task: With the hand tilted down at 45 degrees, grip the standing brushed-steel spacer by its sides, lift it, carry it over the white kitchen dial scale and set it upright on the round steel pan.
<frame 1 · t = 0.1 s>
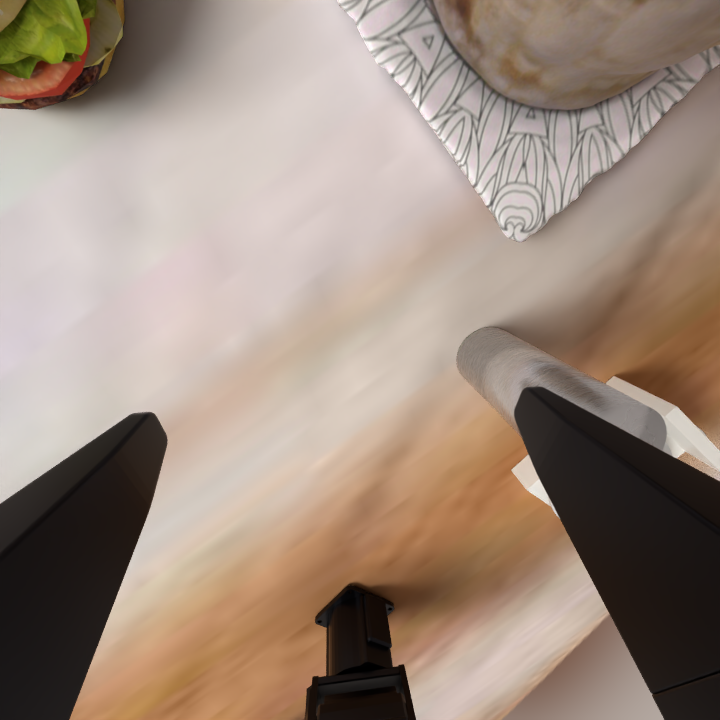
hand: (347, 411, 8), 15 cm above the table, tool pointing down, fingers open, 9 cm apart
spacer: (485, 356, 25), on the table
scale: (584, 452, 29), on the table
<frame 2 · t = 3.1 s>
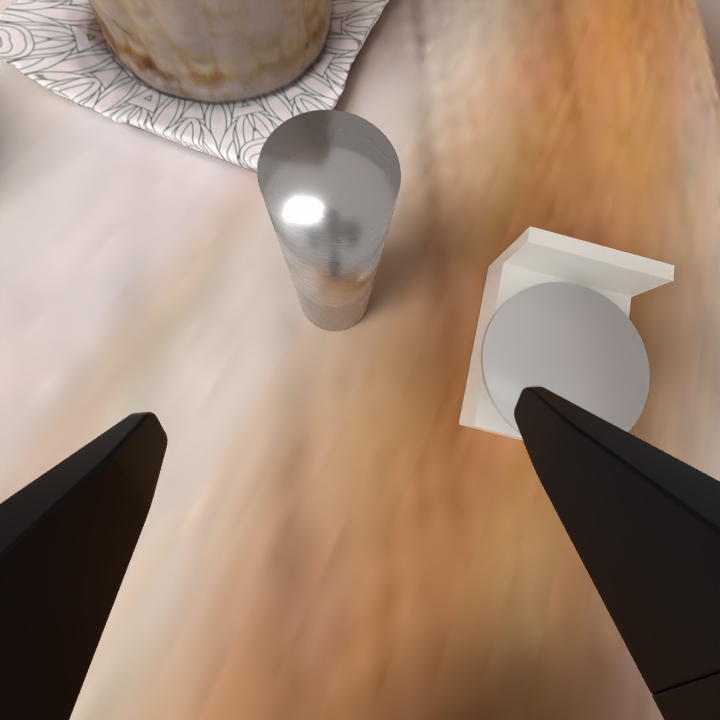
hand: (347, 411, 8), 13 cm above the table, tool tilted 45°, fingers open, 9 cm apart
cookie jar: (218, 27, 26), on the table
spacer: (334, 298, 22), on the table
scale: (532, 364, 22), on the table
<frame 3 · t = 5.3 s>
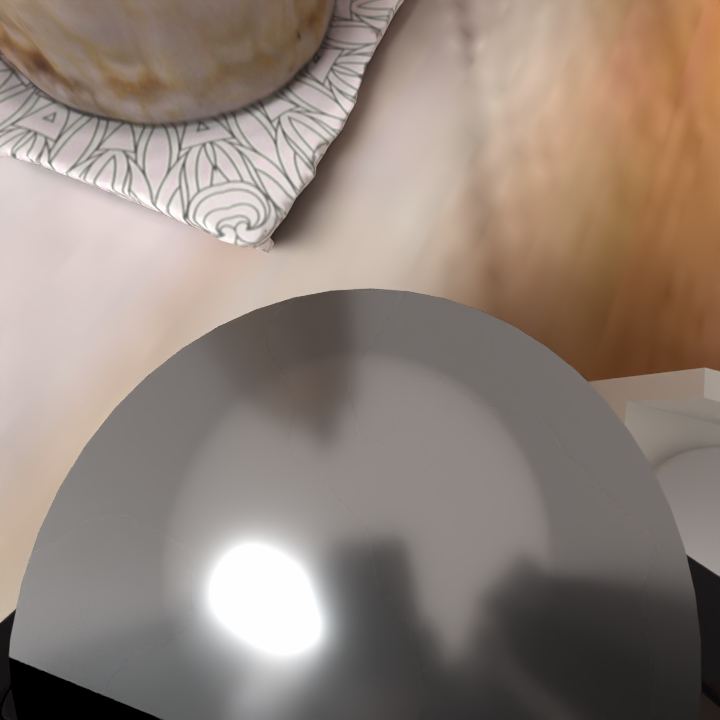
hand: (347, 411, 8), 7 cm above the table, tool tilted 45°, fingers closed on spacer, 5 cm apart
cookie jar: (170, 10, 18), on the table
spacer: (345, 442, 14), on the table, touching gripper
scale: (659, 544, 14), on the table
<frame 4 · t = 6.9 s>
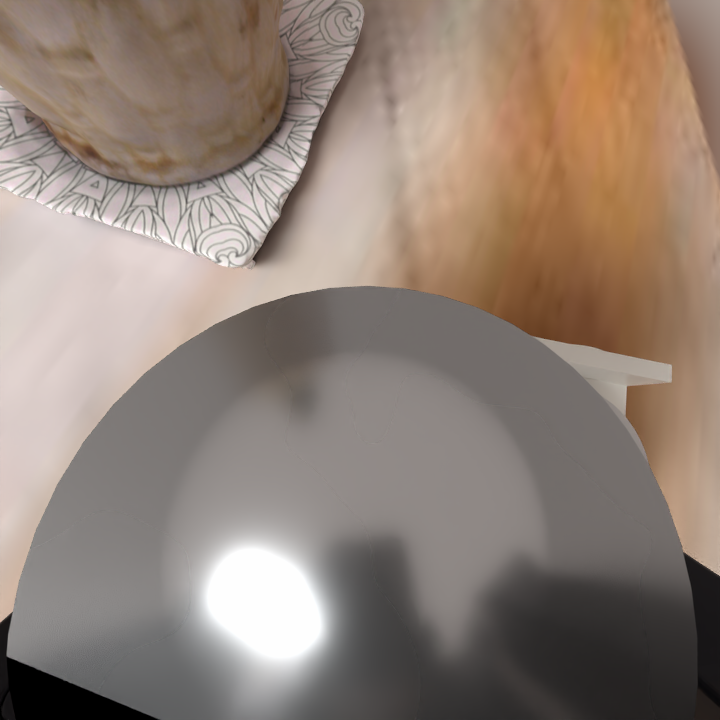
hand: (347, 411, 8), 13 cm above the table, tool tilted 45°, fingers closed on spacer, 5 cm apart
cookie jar: (170, 94, 24), on the table
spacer: (344, 442, 14), point 7 cm above the table, touching gripper
scale: (526, 455, 21), on the table
when the fingers open (11 cm above the table, at t = 8.4 s): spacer stays where it is, resting on scale.
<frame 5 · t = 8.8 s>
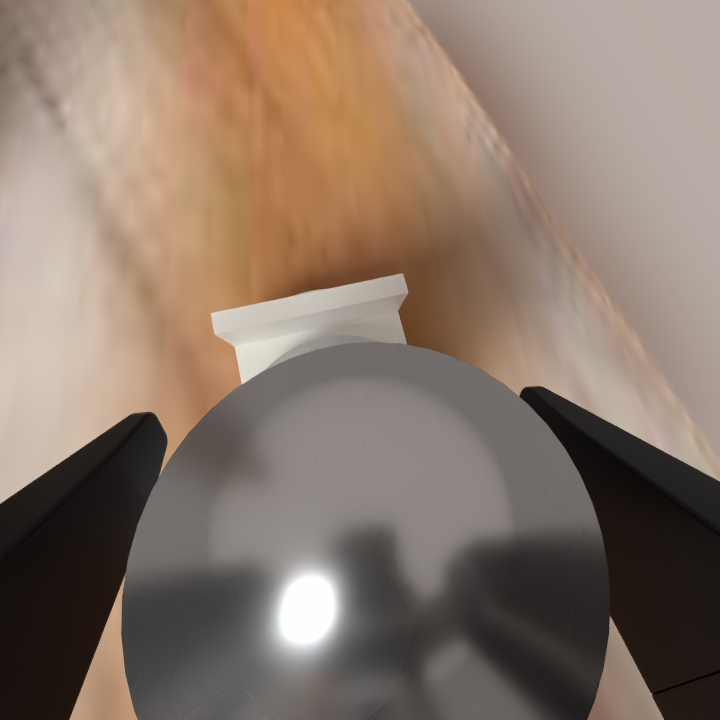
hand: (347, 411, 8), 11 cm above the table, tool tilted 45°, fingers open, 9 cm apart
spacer: (345, 443, 15), point 4 cm above the table, touching scale
scale: (341, 426, 19), on the table
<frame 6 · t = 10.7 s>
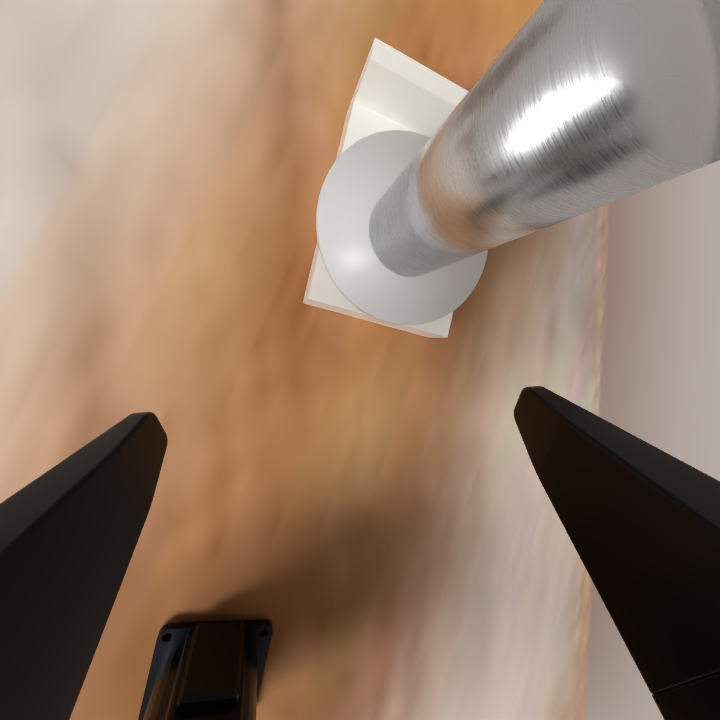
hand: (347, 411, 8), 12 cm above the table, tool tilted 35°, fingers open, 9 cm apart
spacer: (409, 232, 17), point 4 cm above the table, touching scale
scale: (388, 240, 21), on the table
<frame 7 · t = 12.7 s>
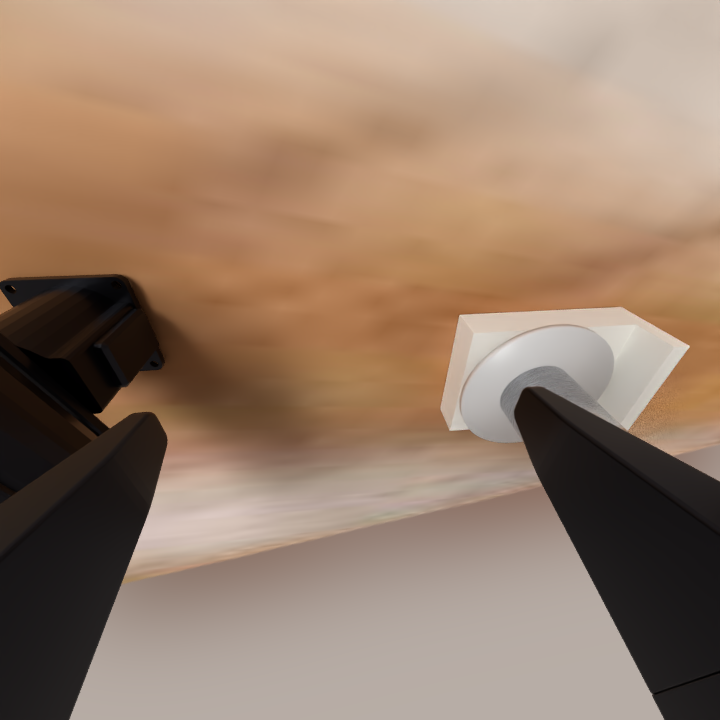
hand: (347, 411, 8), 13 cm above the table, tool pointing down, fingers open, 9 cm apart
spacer: (534, 393, 22), point 4 cm above the table, touching scale
scale: (516, 362, 25), on the table
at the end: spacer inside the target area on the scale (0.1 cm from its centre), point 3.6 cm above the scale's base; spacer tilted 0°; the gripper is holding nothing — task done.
